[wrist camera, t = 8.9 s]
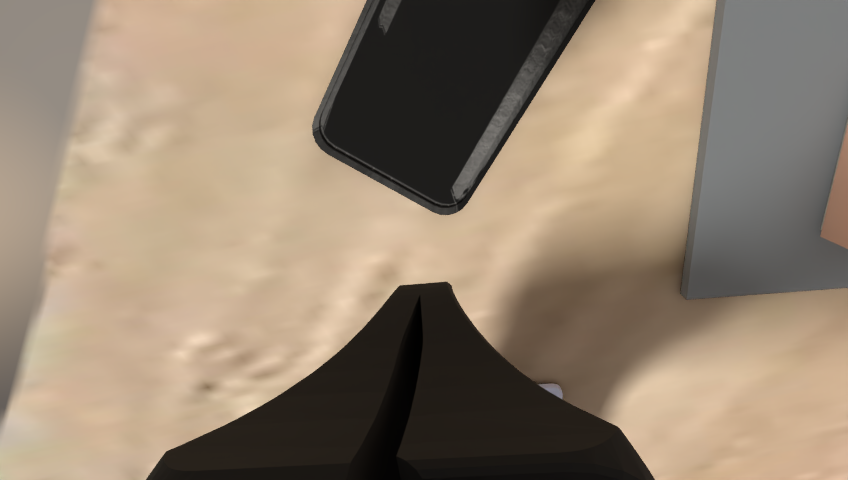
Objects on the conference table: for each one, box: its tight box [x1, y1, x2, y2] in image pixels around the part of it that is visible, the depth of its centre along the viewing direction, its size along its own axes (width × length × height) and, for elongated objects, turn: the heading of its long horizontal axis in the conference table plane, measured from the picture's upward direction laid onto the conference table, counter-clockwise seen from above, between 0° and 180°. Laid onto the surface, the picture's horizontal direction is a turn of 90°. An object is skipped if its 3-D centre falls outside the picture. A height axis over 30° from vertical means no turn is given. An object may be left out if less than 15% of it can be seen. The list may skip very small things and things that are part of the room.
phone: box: [312, 0, 595, 215], centre depth 18 cm, size 8×1×15 cm
